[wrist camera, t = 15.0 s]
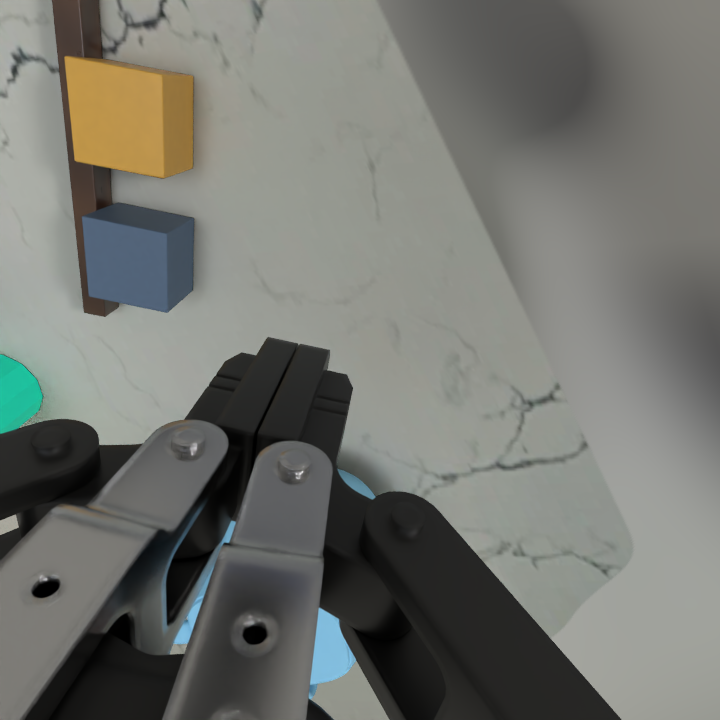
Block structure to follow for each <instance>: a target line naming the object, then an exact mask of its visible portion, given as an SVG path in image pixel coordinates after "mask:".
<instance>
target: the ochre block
mask: <svg viewBox="0 0 720 720" xmlns="http://www.w3.org/2000/svg"><path fill="white" fill-rule="evenodd" d="M64 58H65V68H66V79H67V89H68V99H69V109H70V119H71V129H72V139H73V149H74V159H75V161H76V162H80V163H85V164H91V165H96V166H101V167H106V168H111V169H116V170H122V171H127V172H132V173H137V174H142V175H147V176H153V177H158V178H163V179H164V178H167V177H170V176H173V175H175V174H178V173H181V172H184V171H187V170H190V169H192V168H193V76H191V75H186V74H181V73H176V72H170V71H165V70H160V69H155V68H149V67H144V66H139V65H134V64H128V63H123V62H118V61H113V60H107V59H96V58H85V57H74V56H65V57H64Z"/></svg>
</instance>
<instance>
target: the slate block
mask: <svg viewBox="0 0 720 720" xmlns="http://www.w3.org/2000/svg"><path fill="white" fill-rule="evenodd" d="M82 225H83V236H84V248H85V259H86V271H87V282H88V294H89V296H90V297H94V298H99V299H104V300H109V301H113V302H118V303H123V304H128V305H133V306H137V307H142V308H147V309H152V310H156V311H161V312H166V313H167V312H169V311H170V310H171V309H172V308H173V307H174V306H175V305H177V304H178V303H179V302H180V301H181V300H182V299H183V298H184V297H186V296H187V295H188V294H189V293H190V292H191V291H192V290H193V243H194V218H191V217H186V216H181V215H176V214H172V213H167V212H162V211H157V210H152V209H147V208H143V207H138V206H133V205H128V204H123V203H115V204H113V205H110V206H107V207H105V208H102V209H100V210H97V211H94V212H92V213H89V214H86V215H84V216H82Z"/></svg>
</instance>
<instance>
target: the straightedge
mask: <svg viewBox="0 0 720 720" xmlns="http://www.w3.org/2000/svg"><path fill="white" fill-rule="evenodd" d="M52 4H53V14H54V24H55V33H56V43H57V53H58V63H59V72H60V82H61V92H62V102H63V112H64V121H65V131H66V141H67V151H68V161H69V170H70V180H71V190H72V200H73V209H74V219H75V229H76V239H77V249H78V258H79V268H80V278H81V288H82V298H83V307H84V313H88V314H93V315H98V316H103V317H106V316H107V315H108V314H110V313H111V312H112V311H114V310H115V309H117V308H118V307H119V304H118V302H113V301H109V300H104V299H99V298H94V297H90V296H89V294H88V282H87V271H86V259H85V248H84V236H83V225H82V216H84V215H86V214H89V213H92V212H94V211H97V210H100V209H102V208H105V207H107V206H110V205H112V198H111V183H110V168H106V167H101V166H96V165H91V164H85V163H80V162H76V161H75V159H74V149H73V139H72V129H71V119H70V109H69V99H68V89H67V79H66V68H65V58H64V57H65V56H74V57H85V58H96V59H102V46H101V31H100V16H99V1H98V0H52Z"/></svg>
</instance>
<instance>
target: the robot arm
mask: <svg viewBox="0 0 720 720" xmlns="http://www.w3.org/2000/svg"><path fill="white" fill-rule="evenodd" d="M329 357H330V350H327V349H322V348H317V347H313V346H308V345H303V344H300V345H298V343H293V342H289V341H284V340H279V339H275V338H270V337H268V338H267V339H266V340H265V342H264V344H263V345H262V347H261V349H260V350H259V352H258V354H257V355H251V354H246V353H240V354H238V355H236V356H234V357H232V358H231V359H229V360H227V361H225V363H224V364H223V365H222V367H221V368H220V370H219V371H218V372H217V375H216V376H215V377H214V378H213V380H212V381H211V382H210V384H209V387H207V388H206V389H205V391H204V392H203V394H202V395H201V397H200V398H199V399H198V401H197V402H196V404H195V405H194V406H193V408H192V409H191V411H190V412H189V414H188V415H187V416H186V418H185V419H184V420H179V421H175V422H171V423H168V424H166V425H164V426H162V427H160V428H159V429H157V430H156V431H155V432H154V433H152V435H151V436H150V437H149V438H148V439H147V440H146V441H145V442H144V443H143V444H136V445H99V438H98V434H97V432H96V431H95V430H94V429H93V428H92V427H91V426H89V425H88V424H86V423H83V422H80V421H76V420H70V419H56V420H48V421H43V422H39V423H35V424H32V425H29V426H25V427H22V428H19V429H15V430H12V431H9V432H5V433H2V434H0V520H2V519H5V518H7V517H10V516H12V515H15V514H16V516H17V521H18V525H19V528H17V529H14V530H12V531H10V532H7V533H5V534H2V535H0V720H334V719H333V718H331V717H330V716H329V715H328V714H327V713H326V712H325V711H324V710H323V709H322V708H321V707H320V706H318V705H317V704H316V703H315V702H313V701H312V700H311V699H309V689H310V680H311V672H312V663H313V655H314V646H315V637H316V629H317V620H318V612H319V608H321V609H323V610H324V611H326V612H328V613H329V614H331V615H333V616H334V617H336V618H338V619H339V626H340V630H341V633H342V635H343V637H344V639H345V641H346V643H347V644H348V646H349V648H350V650H351V652H352V653H353V655H354V657H355V659H356V660H357V662H358V664H359V666H360V668H361V669H362V671H363V673H364V675H365V677H366V678H367V680H368V682H369V684H370V685H371V687H372V689H373V691H374V693H375V694H376V696H377V698H378V700H379V702H380V703H381V705H382V707H383V709H384V710H385V712H386V714H387V716H388V718H389V719H390V720H621V719H620V717H619V716H618V715H617V714H616V713H615V712H614V711H613V709H612V708H611V707H610V706H609V705H608V704H607V703H606V702H605V700H604V699H603V698H602V697H601V696H600V695H599V694H598V692H597V691H596V690H595V689H594V688H593V687H592V685H591V684H590V683H589V682H588V681H587V680H586V679H585V677H584V676H583V675H582V674H581V673H580V672H579V671H578V670H577V668H576V667H575V666H574V665H573V664H572V663H571V662H570V660H569V659H568V658H567V657H566V656H565V655H564V654H563V652H562V651H561V650H560V649H559V648H558V647H557V646H556V644H555V643H554V642H553V641H552V640H551V639H550V638H549V636H548V635H547V634H546V633H545V632H544V631H543V630H542V628H541V627H540V626H539V625H538V624H537V623H536V622H535V620H534V619H533V618H532V617H531V616H530V615H529V614H528V612H527V611H526V610H525V609H524V608H523V607H522V606H521V604H520V603H519V602H518V601H517V600H516V599H515V598H514V596H513V595H512V594H511V593H510V592H509V591H508V590H507V588H506V587H505V586H504V585H503V584H502V583H501V582H500V581H499V579H498V578H497V577H496V576H495V575H494V574H493V573H492V571H491V570H490V569H489V568H488V567H487V566H486V565H485V563H484V562H483V561H482V560H481V559H480V558H479V557H478V555H477V554H476V553H475V552H474V551H473V550H472V549H471V547H470V546H469V545H468V544H467V543H466V542H465V541H464V539H463V538H462V537H461V536H460V535H459V534H458V533H457V531H456V530H455V529H454V528H453V527H452V526H451V525H450V523H449V522H448V521H447V520H446V519H445V518H444V517H443V515H442V514H441V513H440V512H439V511H438V510H437V509H436V508H435V507H434V506H433V505H432V504H431V503H429V502H428V501H426V500H425V499H423V498H421V497H419V496H417V495H414V494H410V493H406V492H396V491H395V492H387V493H383V494H381V495H379V496H377V497H375V498H374V499H373V500H372V499H370V498H368V497H366V496H364V495H362V494H360V493H358V492H357V491H355V490H354V489H352V488H351V487H350V486H349V485H347V484H346V483H345V481H344V480H343V479H342V478H341V476H340V474H339V472H338V469H337V461H338V457H339V452H340V448H341V443H342V439H343V434H344V429H345V424H346V420H347V415H348V410H349V405H350V400H351V395H352V390H353V387H352V385H351V383H350V381H349V378H348V376H347V375H346V374H341V373H336V372H332V371H327V369H328V363H329ZM231 521H235V522H236V523H235V526H234V530H233V533H232V536H231V539H230V541H229V543H226V542H224V543H223V545H222V539H223V538H224V536H225V534H226V531H227V529H228V527H229V524H230V522H231ZM213 567H214V568H213ZM212 568H213V571H212V574H211V577H210V580H209V583H208V586H207V589H206V591H205V594H204V597H203V600H202V603H201V606H200V609H199V612H198V615H197V618H196V621H195V624H194V627H193V630H192V633H191V636H190V639H189V642H188V645H187V648H186V651H185V654H174V655H169V654H170V651H171V648H172V646H173V643H174V641H175V639H176V636H177V634H178V632H179V631H180V629H181V627H182V625H183V623H184V621H185V619H186V617H187V616H188V614H189V612H190V610H191V608H192V606H193V604H194V602H195V600H196V599H197V597H198V595H199V593H200V591H201V589H202V587H203V585H204V584H205V582H206V580H207V578H208V576H209V574H210V572H211V570H212Z"/></svg>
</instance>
